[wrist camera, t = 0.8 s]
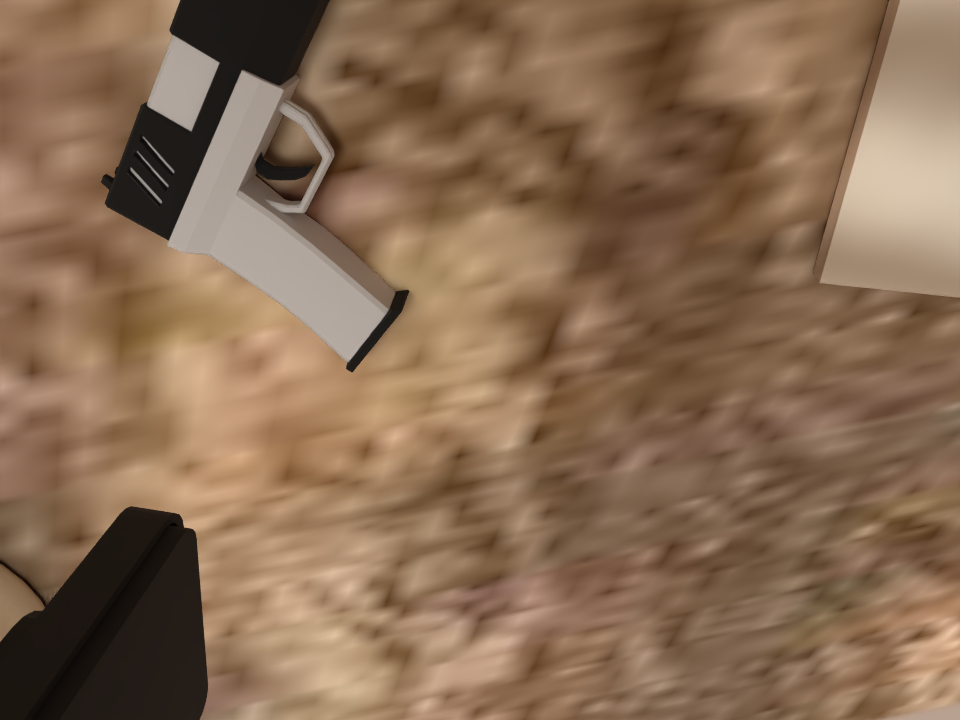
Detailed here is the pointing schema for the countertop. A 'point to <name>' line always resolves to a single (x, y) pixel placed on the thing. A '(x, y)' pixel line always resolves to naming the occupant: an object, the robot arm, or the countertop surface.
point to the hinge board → (902, 162)
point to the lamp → (15, 600)
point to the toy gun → (246, 168)
